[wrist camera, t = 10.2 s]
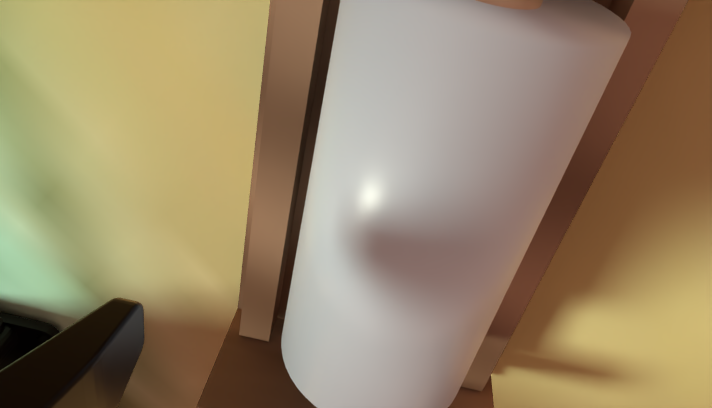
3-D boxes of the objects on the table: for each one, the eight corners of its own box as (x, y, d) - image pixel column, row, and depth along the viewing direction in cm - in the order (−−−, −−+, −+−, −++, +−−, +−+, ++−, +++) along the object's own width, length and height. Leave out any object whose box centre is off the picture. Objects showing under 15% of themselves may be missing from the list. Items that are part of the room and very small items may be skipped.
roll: (457, 305, 18) (465, 453, 14) (300, 269, 18) (260, 408, 14) (594, -17, 12) (679, 68, 8) (364, -72, 12) (327, -14, 8)
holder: (475, 371, 21) (483, 502, 17) (243, 316, 21) (195, 436, 17) (764, -209, 11) (957, -227, 7) (315, -319, 11) (239, -403, 7)
